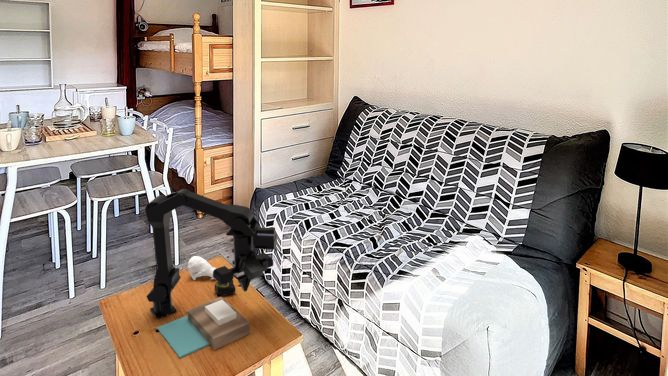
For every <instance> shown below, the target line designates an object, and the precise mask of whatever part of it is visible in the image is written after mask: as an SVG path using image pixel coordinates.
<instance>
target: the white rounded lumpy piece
mask: <svg viewBox="0 0 668 376" xmlns="http://www.w3.org/2000/svg"><path fill="white" fill-rule="evenodd" d="M186 268H187V271H188V273H189V275H190V277H191V278H192V281H196V280H197V278H200V277H211V278H210V280H211V281H213V280H216V279H215V278H214V277H213V271H214V270H215V269H217V268H216V267H214V266H212V264H210V263H209V262H208V261H207V260H206V259H205V258H203V257H201V256H199V255H194V256H191V258H189V260H188V262H187V267H186Z"/></svg>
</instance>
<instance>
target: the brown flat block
mask: <svg viewBox="0 0 668 376" xmlns="http://www.w3.org/2000/svg"><path fill="white" fill-rule="evenodd" d="M220 300H223V301H224V302H225V303H226V304H227V305H229V306H230V307H231V308H232V309H233V310H234V311H235V312H236V317H237V318H236V319H233V320H231V321H229V322H226V323H224V324H222V325H218V324H217V323H216V322H215V321H214V320H213V319H212V318H211V317H210V316H209V315H208V314H207V313H206V312H205V306H207V305H210V304H212V303H215V302H217V301H220ZM186 313H187V315H188V320H189V321H190V322H191V323H192V324H193V325H194V327H195V328H196V329H197V330H198V331H199V332H200V333H201V334H202V335H203V337H204V338H205V339H206V340H207V341H208V342H209V343H210V345H209V346H210V347H211V348H212V349H213V350H214V351H216V350H218V349H220V348H222V347H225V346H227V345H229V344H231V343H233V342H235V341H237V340H240V339H242V338H244V337H245V336H249V335H250V334H251V322H250V321H249V320H248V319H247V318H245V317H244V315H242V314H241V313H240V312H239V311H238V310H237V309H236V308H235V307H234V306H232V305H231V303H229V302H228V301H227V299H225V298H223V297H222V296H219V297H217V298H215V299H212V300H209V301H207V302H204V303H202V304H199V305H197V306H193V307H191V308H189V309H187V310H186ZM187 315H186V316H187Z"/></svg>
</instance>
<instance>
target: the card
mask: <svg viewBox="0 0 668 376" xmlns="http://www.w3.org/2000/svg"><path fill="white" fill-rule="evenodd" d="M205 312H206V313H207V314H208V315H209V316H210V317H211V318H212V319H213V320H214V321H215V322H216V323H217V324H218V325H222V324H224V323H226V322H229V321H231V320H233V319H236V318H237V317H236V312H235V311H234V310H233V309H232V308H231V307H230V306H229V305H227V304H226V303H225V302H224V301H223V300H220V301H217V302H215V303H212V304H210V305H207V306H205Z"/></svg>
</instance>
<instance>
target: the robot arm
mask: <svg viewBox="0 0 668 376" xmlns="http://www.w3.org/2000/svg"><path fill="white" fill-rule="evenodd" d="M182 206H184V207H186V208H188V209H191V210H194V211H197V212H200V213H203V214H205V215H207V216H211V217H213V218H216V219H219V220H220V221H222V222H223V223H224V224H225V225H226V226H227V227H229V229H228V230H227V231H226V234H225V235H226V236H229V237H231V236H232V237H233V238H232V240H233V248H232V249H231V252H232V253H233V260H232V261H231V262H232V263H231V264H232V265H234V266H233V267H230V268H228V267H227V266H226V265H223V266H220V267H218V268H216V269H215V270H214V271H213V277H214V278H215V279H214V280H216V282H217V281H218V282H219V283H220V284H226V283H228V282H231V281H232V280H233V281H234V278H235V279H236V280H237V282H238V284H239V285H240V288H241V289H242V291H243V292H244V293H245V292H247V291H248V289H249V286H250V283H251V281H252V280H254V279H256V278H260V277H262V276H263V273H264V272H265V271H267V270H268V269H269V268H271V267H273V266H274V259H273V257H271V256H270V255H268V254H267V253H266V252H262V253H259V254H256V251H255V250H253V246H254V249H257V250H276V249H277V244H278V234H277V231H276V227H275V226H274V227H260V225H261V224H260V223H259V222H260V221H258V220H257V219H256V218H255V216H254V213H253V212H252V209H251V208H249V207H248V206H245V205H244V206H243V205H239V204H225V203H223V202H220V201H217V200H215V199H213V198H209V197H206V196H203V195H201V194H199V193H196V192H194V191H191V190H190V189H187V188H182V189H180V190H179V191H175V192H171V193H169V194H167V195H163V194H162V195H158V196H156V197H155V198H153V199H152V200H151V201H150V202H149V203H147V204H146V205H145V207H144V212H145V215H146V219H147V220H146V221H147V223H149V225H150V226H151V228H152V233H153V241H154V242H153V244H154V245H153V246H154V253H155V254H154V255H155V264H156V265H155V266H156V271H155V275H154V278H153V285H152V288H151V290H150V291H149V292H148V293H147V295H146V299H147V300H148V302H151V303H152V307H150V308H149V311H150V312H151V313H152V314H153V316H154V317H155V319H161V318H164V317H165V316H170V315H171V314H174V313H176V312H177V309H176V308H175V306H174V305H173V302H172V291H173V290H174V289H175V287H176V286H177V284H178V283H179V282H180V280H181V275H180V270H181V269H180V268H179V267H175V266H174V265H173V258H172V247H171V246H172V245H171V244H172V243H171V235H170V220H171V218H172V213H173V211H174V210H176V209H178V208H180V207H182Z"/></svg>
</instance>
